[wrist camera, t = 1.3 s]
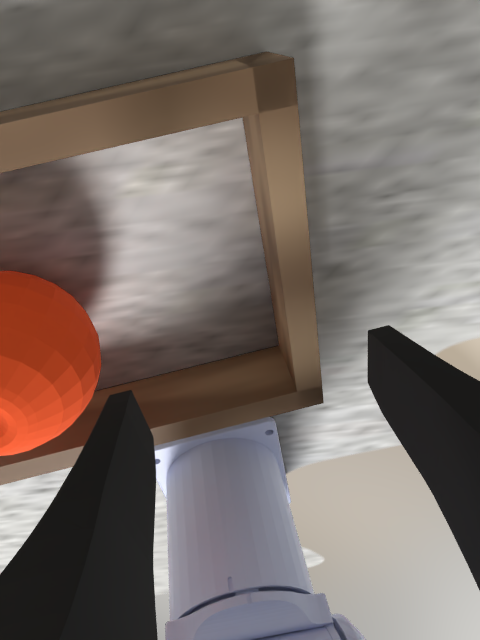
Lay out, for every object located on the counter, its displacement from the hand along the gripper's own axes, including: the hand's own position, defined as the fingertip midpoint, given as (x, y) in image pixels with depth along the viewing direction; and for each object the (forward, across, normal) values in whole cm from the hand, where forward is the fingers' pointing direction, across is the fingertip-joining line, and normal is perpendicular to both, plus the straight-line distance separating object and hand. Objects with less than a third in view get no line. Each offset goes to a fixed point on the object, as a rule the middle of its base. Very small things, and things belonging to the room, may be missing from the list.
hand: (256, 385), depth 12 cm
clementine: (+9, +9, 0) cm, 12 cm away
